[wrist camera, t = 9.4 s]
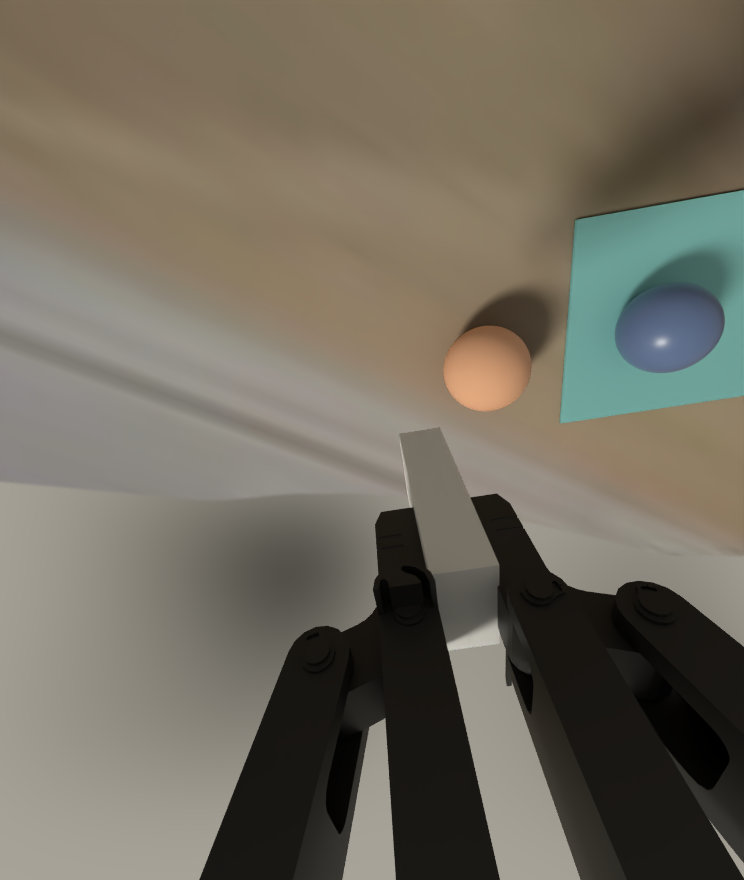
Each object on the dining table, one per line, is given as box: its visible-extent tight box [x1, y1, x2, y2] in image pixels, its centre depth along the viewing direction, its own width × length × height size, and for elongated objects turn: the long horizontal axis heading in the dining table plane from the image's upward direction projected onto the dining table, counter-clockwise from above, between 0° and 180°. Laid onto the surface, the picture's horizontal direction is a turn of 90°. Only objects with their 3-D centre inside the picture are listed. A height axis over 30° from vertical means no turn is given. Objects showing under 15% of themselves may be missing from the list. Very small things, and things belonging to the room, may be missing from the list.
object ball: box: [615, 282, 725, 373], centre depth 24 cm, size 6×6×6 cm
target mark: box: [560, 190, 744, 423], centre depth 27 cm, size 14×14×1 cm
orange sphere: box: [444, 326, 532, 411], centre depth 25 cm, size 6×6×6 cm
